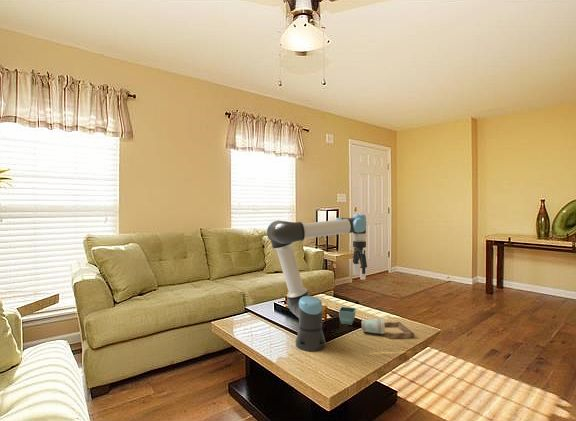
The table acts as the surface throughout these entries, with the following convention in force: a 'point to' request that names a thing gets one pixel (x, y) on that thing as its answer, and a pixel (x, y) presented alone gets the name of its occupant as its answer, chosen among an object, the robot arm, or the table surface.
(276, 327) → the table surface
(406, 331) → the bay
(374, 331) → the coffee cup
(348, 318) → the flower pot
